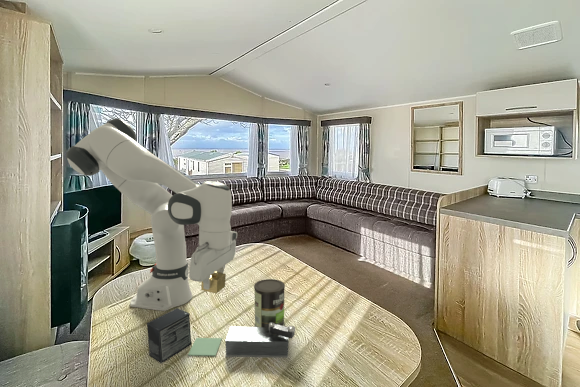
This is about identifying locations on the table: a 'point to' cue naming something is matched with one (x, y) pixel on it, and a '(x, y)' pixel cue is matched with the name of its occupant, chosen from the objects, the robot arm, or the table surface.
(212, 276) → the wooden cube with knob
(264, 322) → the coffee can
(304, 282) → the table surface
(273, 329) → the lever
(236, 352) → the body
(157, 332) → the small box
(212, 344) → the mat
